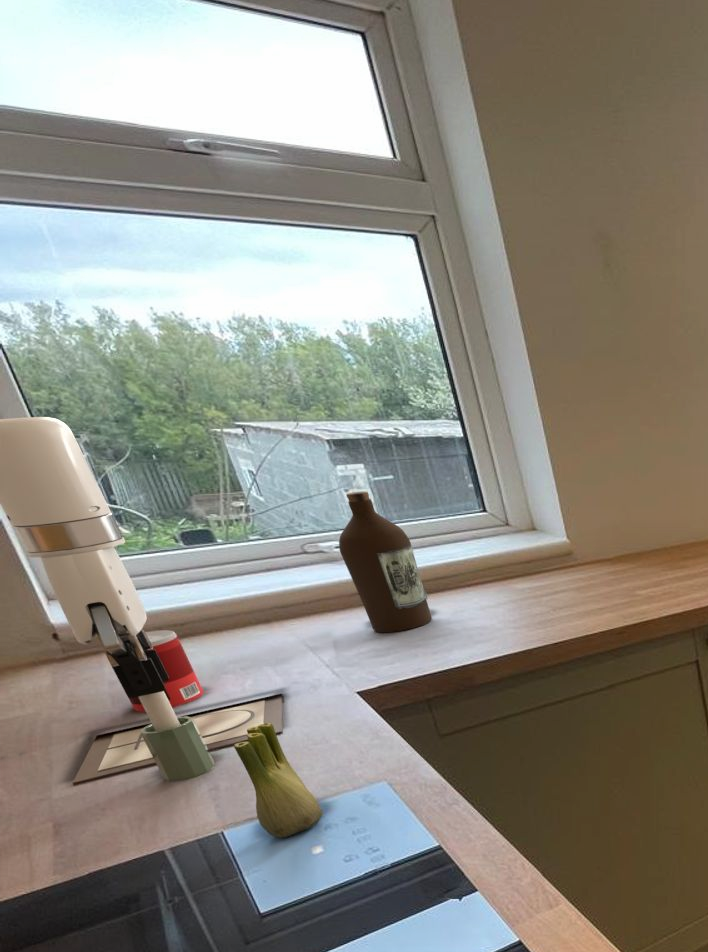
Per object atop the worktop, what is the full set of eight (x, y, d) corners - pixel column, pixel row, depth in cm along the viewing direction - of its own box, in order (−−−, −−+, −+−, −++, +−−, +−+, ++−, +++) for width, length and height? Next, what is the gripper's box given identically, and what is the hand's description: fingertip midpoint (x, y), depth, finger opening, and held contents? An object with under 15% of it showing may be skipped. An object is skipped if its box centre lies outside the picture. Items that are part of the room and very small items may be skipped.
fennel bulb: (289, 846, 85) (241, 744, 80) (250, 843, 86) (201, 742, 81) (339, 815, 90) (297, 718, 85) (302, 813, 91) (259, 717, 86)
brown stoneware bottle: (355, 633, 151) (304, 498, 141) (403, 615, 161) (358, 487, 151) (403, 634, 149) (354, 498, 139) (449, 616, 159) (406, 487, 149)
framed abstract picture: (75, 788, 99) (70, 781, 98) (99, 740, 112) (95, 733, 111) (284, 736, 110) (281, 729, 110) (283, 697, 123) (281, 691, 123)
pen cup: (165, 788, 98) (138, 736, 95) (168, 774, 101) (142, 724, 98) (215, 775, 100) (190, 724, 98) (217, 762, 104) (193, 713, 101)
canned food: (206, 692, 126) (174, 626, 122) (208, 706, 121) (175, 637, 117) (138, 708, 122) (102, 640, 117) (137, 723, 116) (100, 652, 112)
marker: (177, 777, 99) (131, 688, 94) (179, 771, 101) (133, 683, 96) (201, 771, 100) (157, 682, 96) (202, 765, 102) (159, 677, 97)
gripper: (38, 531, 93) (116, 679, 100) (2, 555, 81) (93, 720, 88) (129, 520, 97) (197, 662, 104) (107, 540, 85) (186, 699, 92)
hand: (149, 687), depth 96 cm, fingers open, 3 cm apart
